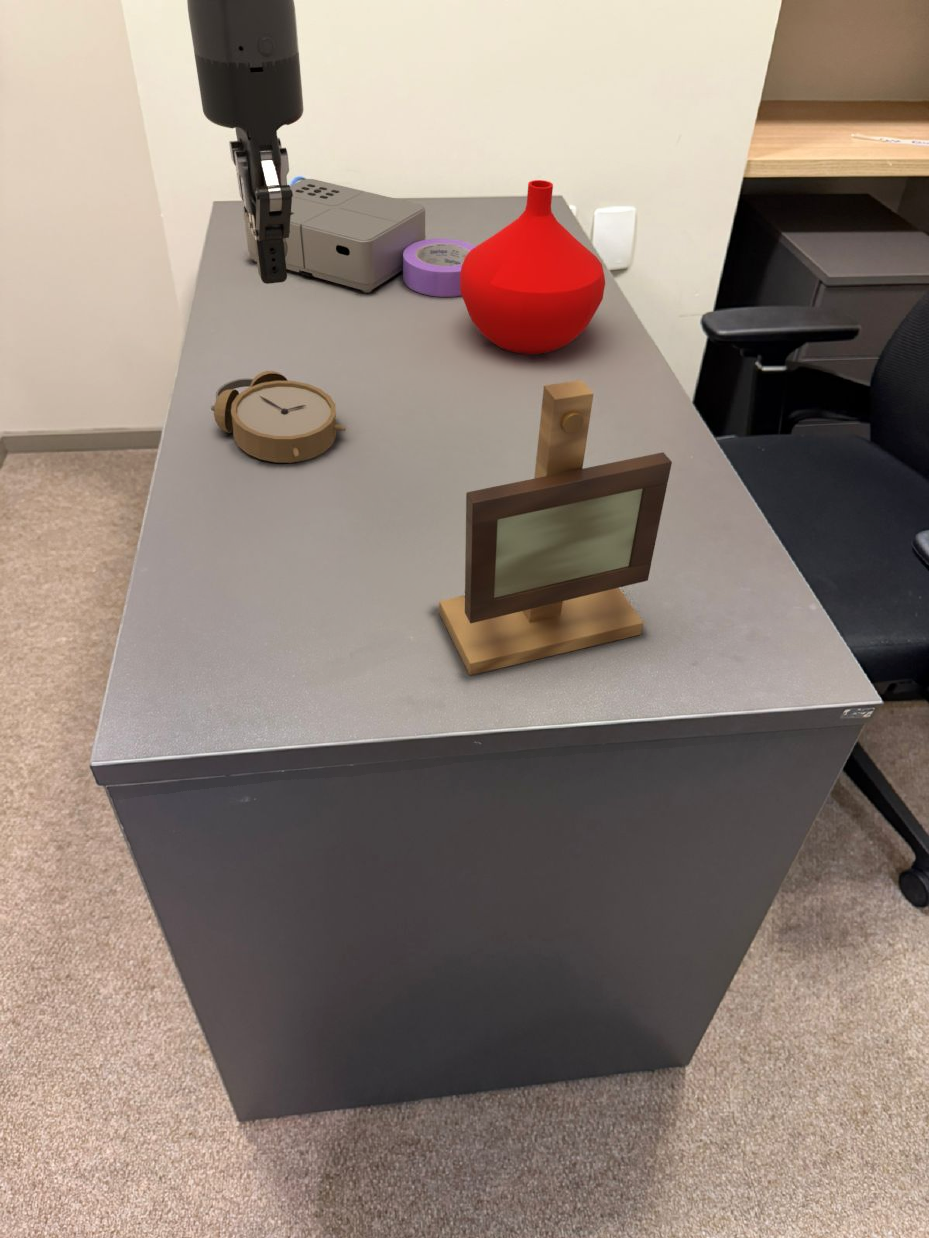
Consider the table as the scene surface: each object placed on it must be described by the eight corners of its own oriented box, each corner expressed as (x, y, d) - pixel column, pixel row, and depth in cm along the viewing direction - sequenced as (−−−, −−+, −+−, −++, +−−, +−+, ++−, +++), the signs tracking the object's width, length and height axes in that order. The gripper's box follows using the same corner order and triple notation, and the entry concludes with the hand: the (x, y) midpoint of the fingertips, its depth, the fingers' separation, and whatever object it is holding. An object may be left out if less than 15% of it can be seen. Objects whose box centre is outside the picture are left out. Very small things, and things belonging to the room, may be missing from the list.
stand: (469, 676, 74) (482, 436, 58) (438, 613, 80) (443, 378, 64) (640, 634, 78) (696, 401, 63) (601, 577, 84) (642, 348, 68)
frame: (470, 623, 72) (472, 503, 63) (464, 612, 73) (466, 492, 64) (648, 580, 76) (672, 461, 67) (640, 570, 77) (663, 451, 68)
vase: (563, 300, 127) (579, 155, 114) (620, 360, 115) (646, 205, 102) (440, 315, 123) (442, 165, 109) (486, 379, 110) (494, 219, 97)
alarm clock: (284, 454, 92) (185, 383, 96) (283, 490, 95) (188, 419, 100) (359, 411, 98) (263, 346, 103) (355, 446, 102) (263, 382, 106)
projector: (311, 227, 144) (306, 175, 138) (429, 258, 137) (429, 204, 131) (244, 262, 133) (237, 208, 128) (368, 297, 126) (366, 241, 120)
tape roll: (491, 295, 128) (492, 268, 125) (410, 299, 126) (410, 272, 123) (473, 262, 136) (474, 236, 133) (397, 266, 134) (397, 240, 131)
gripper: (182, 28, 69) (217, 254, 81) (206, 70, 60) (242, 318, 72) (279, 24, 71) (300, 246, 83) (317, 65, 62) (334, 307, 74)
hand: (273, 279), depth 77 cm, fingers closed
